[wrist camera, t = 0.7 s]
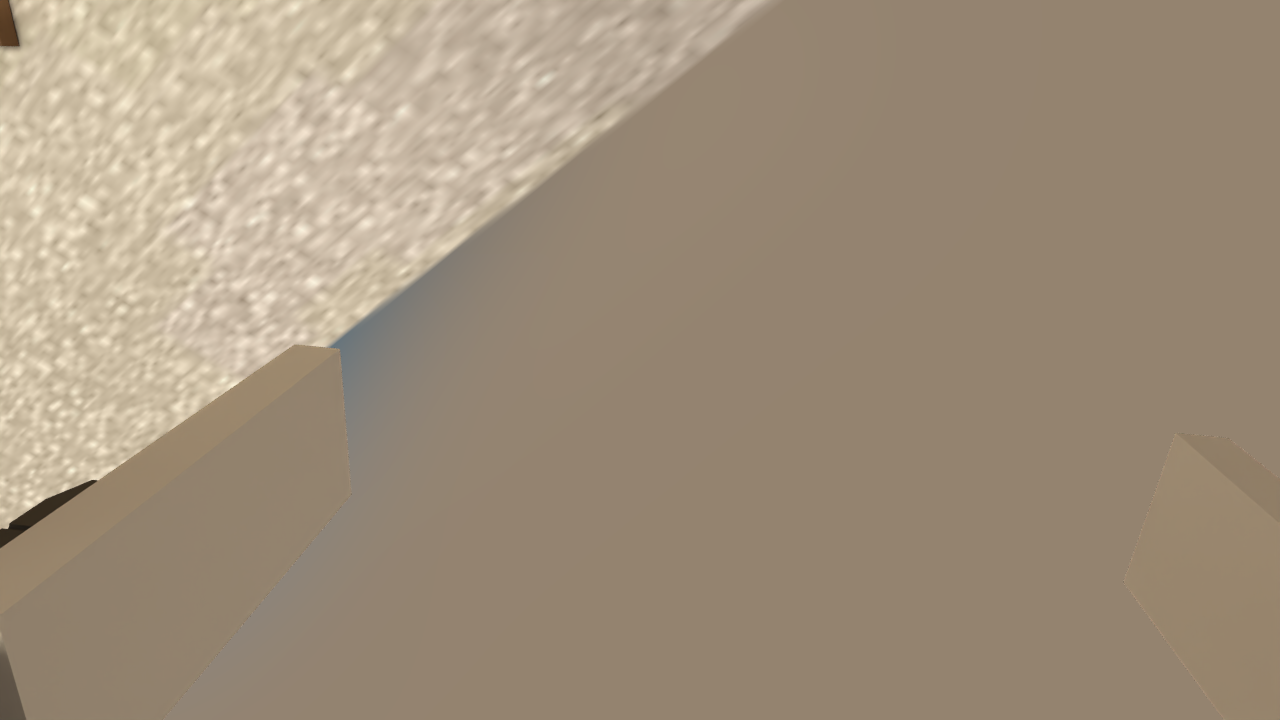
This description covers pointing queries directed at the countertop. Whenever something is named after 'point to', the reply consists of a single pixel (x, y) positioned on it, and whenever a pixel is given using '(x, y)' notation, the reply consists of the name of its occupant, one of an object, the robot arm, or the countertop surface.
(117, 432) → the countertop surface
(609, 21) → the countertop surface
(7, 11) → the brown wooden board
